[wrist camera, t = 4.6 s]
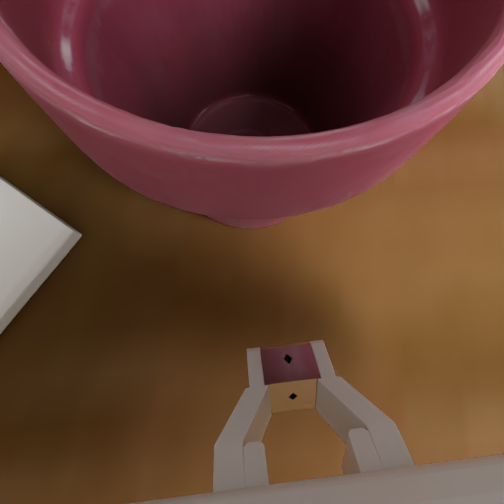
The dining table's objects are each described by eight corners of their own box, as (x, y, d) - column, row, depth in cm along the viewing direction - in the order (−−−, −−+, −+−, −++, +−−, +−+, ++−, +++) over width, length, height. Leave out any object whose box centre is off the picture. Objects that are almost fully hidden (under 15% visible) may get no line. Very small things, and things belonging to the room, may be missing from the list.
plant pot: (377, 98, 20) (578, -248, 8) (335, 296, 18) (545, 248, 5) (181, 52, 21) (79, -330, 9) (109, 234, 18) (-199, 58, 6)
